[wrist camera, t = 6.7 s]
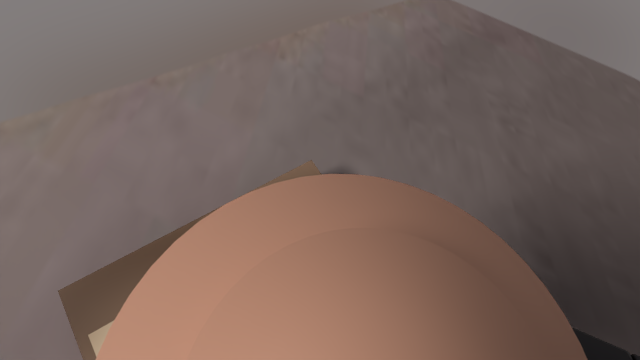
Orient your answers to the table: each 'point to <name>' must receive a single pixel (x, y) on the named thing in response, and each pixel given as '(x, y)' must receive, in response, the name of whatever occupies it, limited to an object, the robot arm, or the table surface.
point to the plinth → (125, 282)
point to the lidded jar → (340, 283)
